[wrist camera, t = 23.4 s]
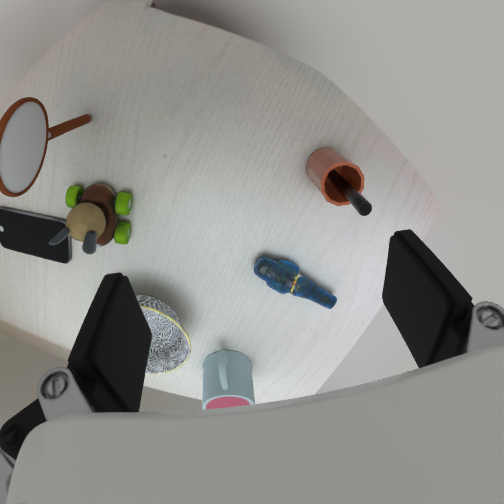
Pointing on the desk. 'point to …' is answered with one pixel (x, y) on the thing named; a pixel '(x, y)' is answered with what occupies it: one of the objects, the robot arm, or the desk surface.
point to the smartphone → (33, 234)
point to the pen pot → (332, 159)
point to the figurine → (291, 281)
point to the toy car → (95, 217)
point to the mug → (227, 380)
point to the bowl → (164, 336)
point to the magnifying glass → (27, 143)
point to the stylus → (350, 193)
